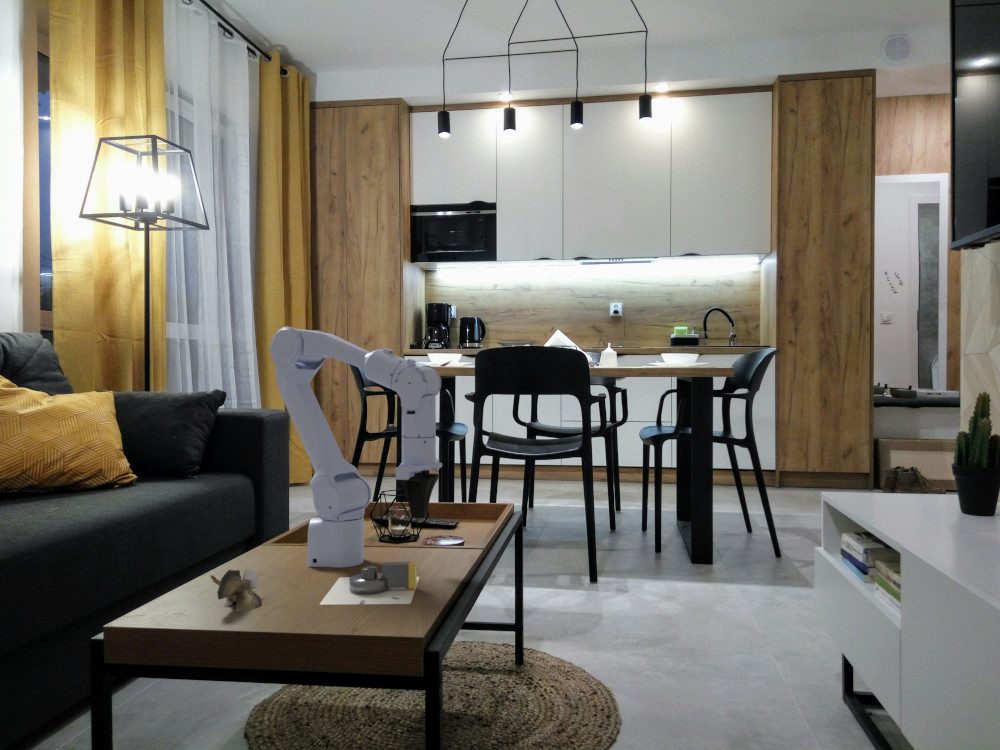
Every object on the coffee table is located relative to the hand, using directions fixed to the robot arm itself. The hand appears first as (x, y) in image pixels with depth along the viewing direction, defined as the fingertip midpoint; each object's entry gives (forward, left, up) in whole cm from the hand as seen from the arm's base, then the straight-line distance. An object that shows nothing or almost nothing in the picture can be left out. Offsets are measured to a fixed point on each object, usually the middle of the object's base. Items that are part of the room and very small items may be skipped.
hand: (418, 517), depth 117 cm
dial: (-4, -11, -9) cm, 15 cm away
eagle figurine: (-24, -18, -10) cm, 32 cm away
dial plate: (-6, -11, -10) cm, 16 cm away
